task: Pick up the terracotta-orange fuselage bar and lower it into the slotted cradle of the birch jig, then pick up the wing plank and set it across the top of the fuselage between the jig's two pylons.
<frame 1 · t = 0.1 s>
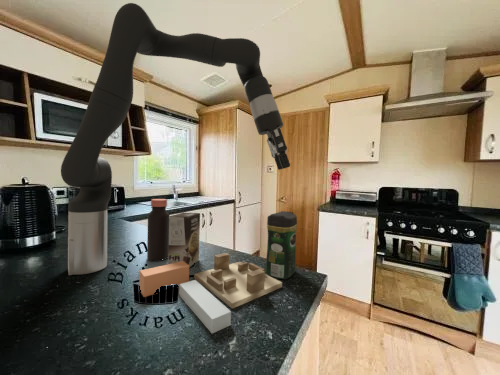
hand: (284, 168, 64), 31 cm above the counter, tool tilted 20°, fingers open, 8 cm apart
bottle: (158, 258, 75), on the counter
jig: (236, 282, 59), on the counter
coffee jar: (280, 274, 66), on the counter
fuselage: (165, 287, 56), on the counter
coffee box: (184, 264, 71), on the counter
wing: (202, 310, 47), on the counter
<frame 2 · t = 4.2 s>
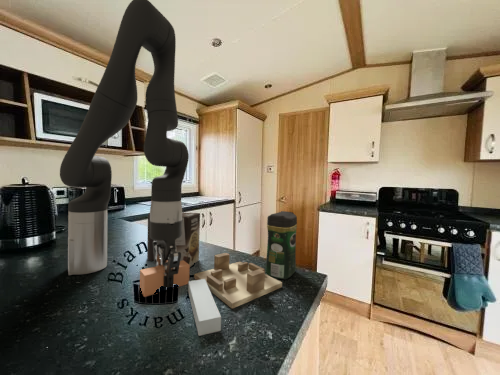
hand: (165, 285, 56), 0 cm above the counter, tool pointing down, fingers closed on fuselage, 4 cm apart
fuselage: (165, 286, 56), on the counter, touching gripper
when the fingers open (3 cm above the counter, at t = 9.2 s): fuselage drops 2 cm, resting on jig.
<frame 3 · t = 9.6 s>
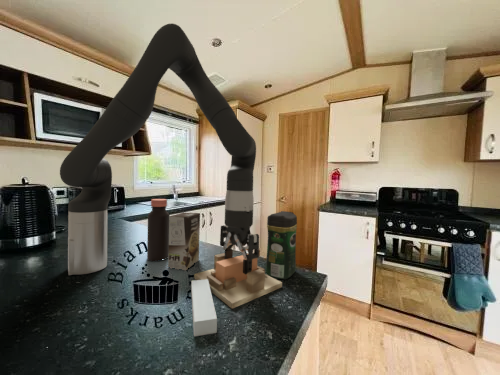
hand: (237, 267, 59), 4 cm above the counter, tool pointing down, fingers open, 8 cm apart
fuselage: (236, 277, 60), point 1 cm above the counter, touching jig
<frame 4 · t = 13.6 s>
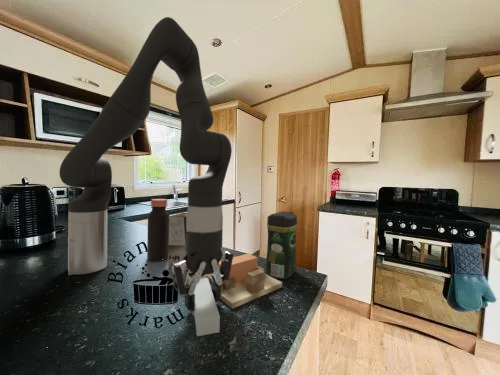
hand: (203, 304, 47), 1 cm above the counter, tool pointing down, fingers closed on wing, 5 cm apart
wing: (203, 309, 47), on the counter, touching gripper
everything else where it was.
when the fingers open (8 cm above the counter, at t = 17.6 s): wing stays where it is, resting on fuselage.
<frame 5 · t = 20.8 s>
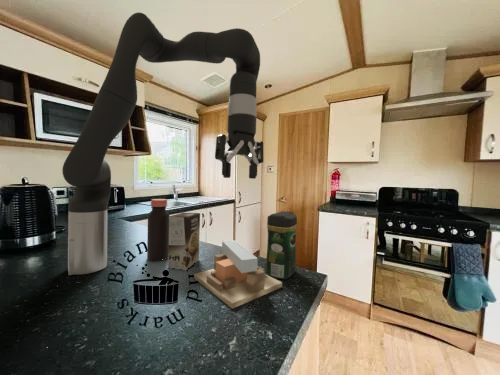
hand: (240, 178, 58), 28 cm above the counter, tool pointing down, fingers open, 8 cm apart
fuselage: (236, 277, 60), point 1 cm above the counter, touching jig, wing
wing: (237, 259, 59), point 6 cm above the counter, touching fuselage
everything else where it was.
at the end: fuselage 0.1 cm off-centre on the jig, point 1.2 cm above the jig's base; wing 0.1 cm off-centre on the jig, point 6.2 cm above the jig's base; wing touching fuselage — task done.
